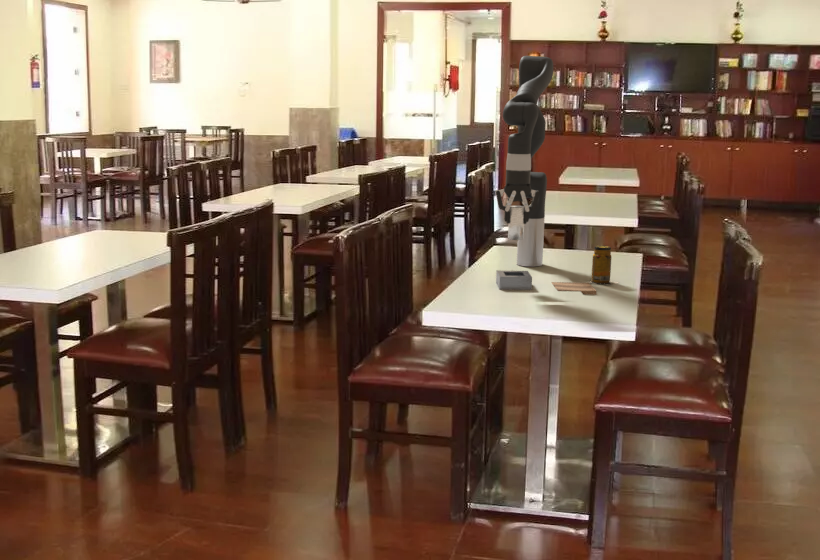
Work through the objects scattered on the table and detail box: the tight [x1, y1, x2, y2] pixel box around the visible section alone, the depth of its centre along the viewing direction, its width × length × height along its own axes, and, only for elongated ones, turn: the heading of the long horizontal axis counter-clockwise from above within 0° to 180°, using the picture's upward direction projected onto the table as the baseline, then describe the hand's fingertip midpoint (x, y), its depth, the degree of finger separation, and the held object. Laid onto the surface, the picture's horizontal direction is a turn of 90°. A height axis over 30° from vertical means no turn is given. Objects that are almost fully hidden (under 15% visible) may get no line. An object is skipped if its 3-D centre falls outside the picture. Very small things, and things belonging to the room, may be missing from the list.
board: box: [551, 281, 597, 295], centre depth 291 cm, size 12×12×1 cm
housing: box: [495, 269, 533, 291], centre depth 290 cm, size 10×10×5 cm
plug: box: [507, 205, 525, 241], centre depth 287 cm, size 5×5×10 cm
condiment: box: [587, 245, 620, 286], centre depth 302 cm, size 7×8×12 cm
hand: (516, 223), depth 287 cm, fingers closed on plug, 4 cm apart
